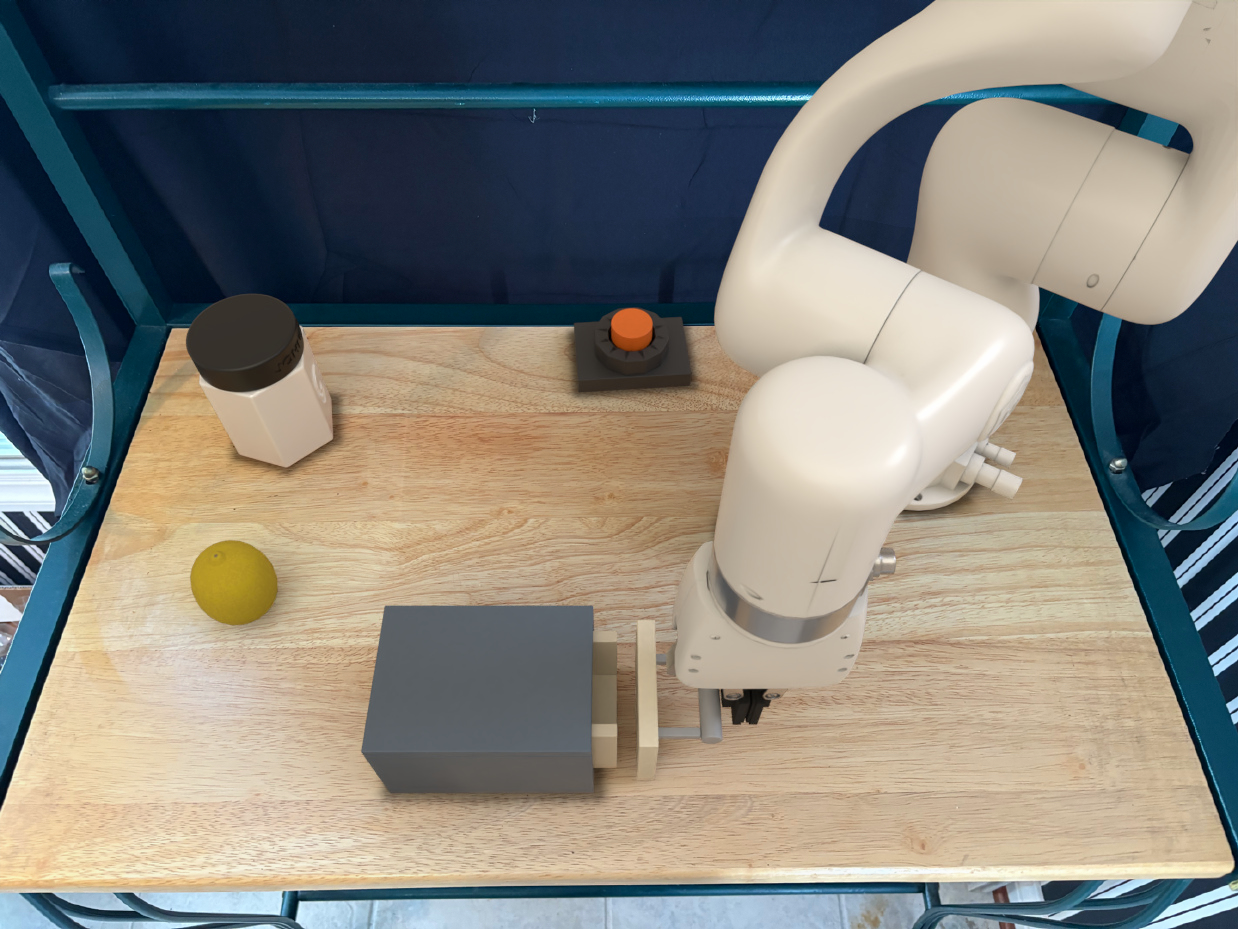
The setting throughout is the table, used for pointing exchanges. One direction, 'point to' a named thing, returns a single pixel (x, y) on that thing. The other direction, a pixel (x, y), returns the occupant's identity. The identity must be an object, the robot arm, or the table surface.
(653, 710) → the drawer
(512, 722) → the cabinet
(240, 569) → the lemon
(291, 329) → the jar
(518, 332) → the table surface
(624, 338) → the button
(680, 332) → the control block
